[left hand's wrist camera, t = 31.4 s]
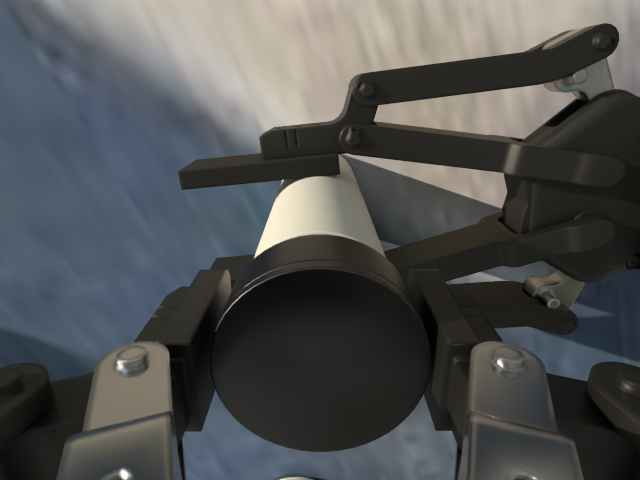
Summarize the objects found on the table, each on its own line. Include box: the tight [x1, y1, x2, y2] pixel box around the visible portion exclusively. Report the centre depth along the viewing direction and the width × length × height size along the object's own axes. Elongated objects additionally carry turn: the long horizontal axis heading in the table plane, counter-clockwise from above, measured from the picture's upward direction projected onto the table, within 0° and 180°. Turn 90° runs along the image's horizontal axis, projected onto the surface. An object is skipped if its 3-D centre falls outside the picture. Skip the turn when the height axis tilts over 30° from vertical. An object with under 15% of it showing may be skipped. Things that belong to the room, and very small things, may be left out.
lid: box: [209, 234, 432, 452], centre depth 10 cm, size 5×5×2 cm
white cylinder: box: [254, 154, 386, 258], centre depth 17 cm, size 4×4×16 cm
